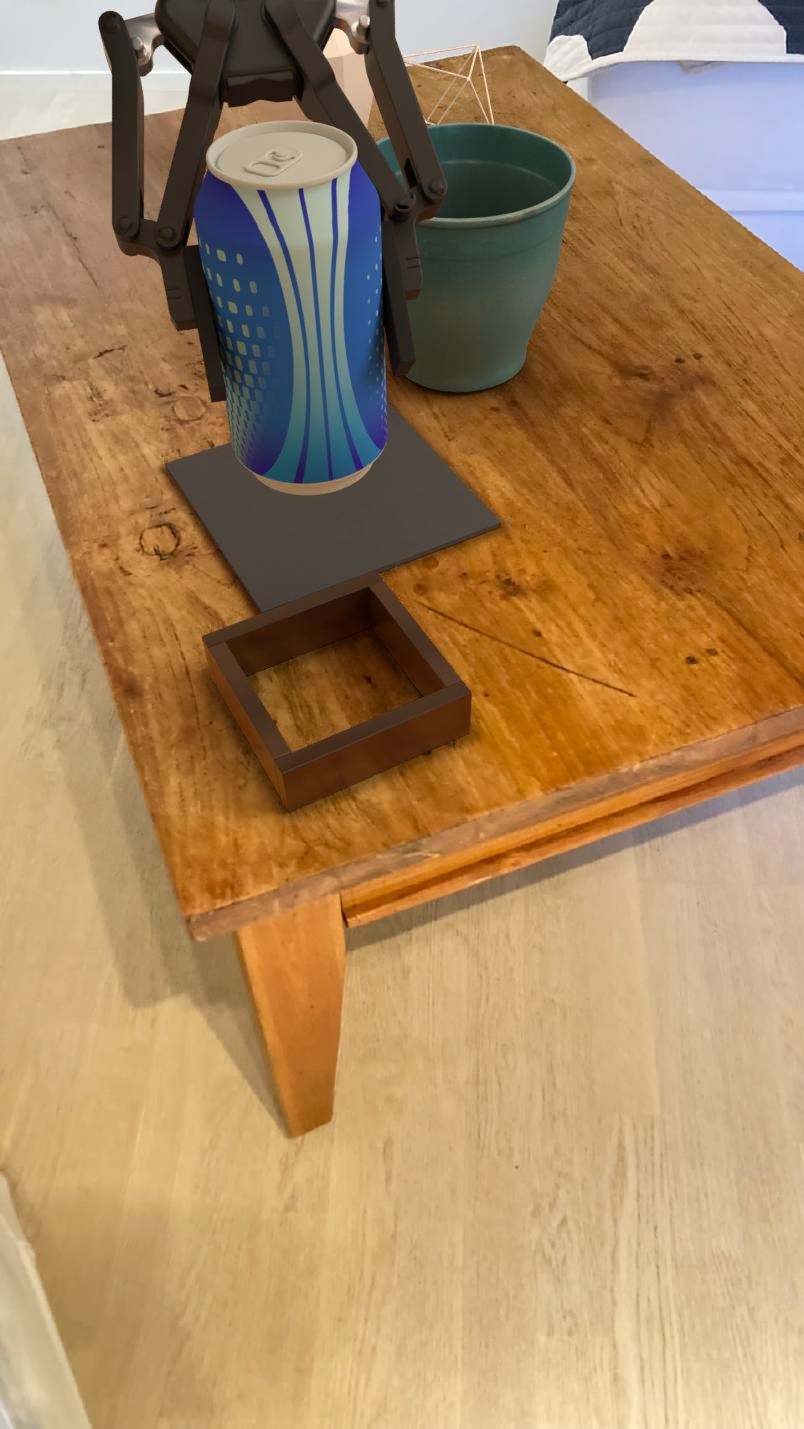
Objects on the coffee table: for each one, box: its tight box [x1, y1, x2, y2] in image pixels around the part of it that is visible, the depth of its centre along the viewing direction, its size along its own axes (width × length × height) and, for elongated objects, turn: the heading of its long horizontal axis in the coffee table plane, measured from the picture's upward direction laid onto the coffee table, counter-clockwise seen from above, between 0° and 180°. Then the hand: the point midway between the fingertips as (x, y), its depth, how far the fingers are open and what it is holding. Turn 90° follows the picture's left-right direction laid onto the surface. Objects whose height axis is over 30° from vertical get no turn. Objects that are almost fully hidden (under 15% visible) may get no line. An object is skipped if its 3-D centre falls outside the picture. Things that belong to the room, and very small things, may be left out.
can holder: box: [201, 571, 473, 813], centre depth 69 cm, size 13×13×4 cm
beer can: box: [193, 120, 388, 495], centre depth 52 cm, size 8×8×16 cm
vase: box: [252, 28, 374, 129], centre depth 113 cm, size 14×14×25 cm
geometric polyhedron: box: [402, 43, 495, 126], centre depth 124 cm, size 12×11×9 cm
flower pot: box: [374, 122, 577, 393], centre depth 90 cm, size 18×18×17 cm
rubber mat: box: [164, 401, 502, 614], centre depth 84 cm, size 20×20×1 cm
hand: (312, 381), depth 51 cm, fingers closed on beer can, 8 cm apart
